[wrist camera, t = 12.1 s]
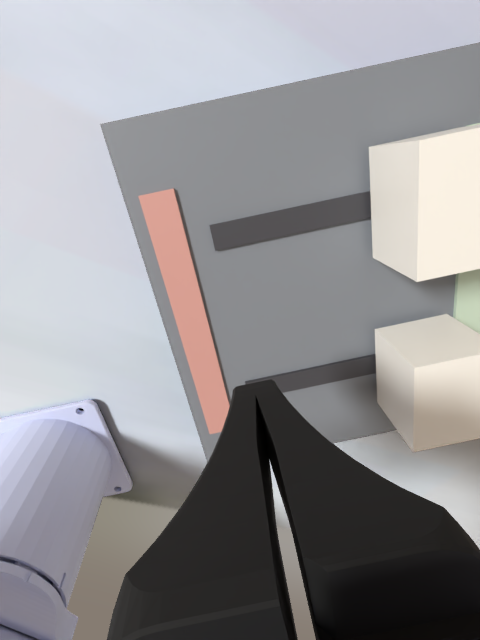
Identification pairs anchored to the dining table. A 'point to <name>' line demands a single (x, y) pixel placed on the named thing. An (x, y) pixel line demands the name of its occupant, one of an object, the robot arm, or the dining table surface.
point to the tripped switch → (427, 203)
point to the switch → (430, 380)
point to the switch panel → (287, 234)
